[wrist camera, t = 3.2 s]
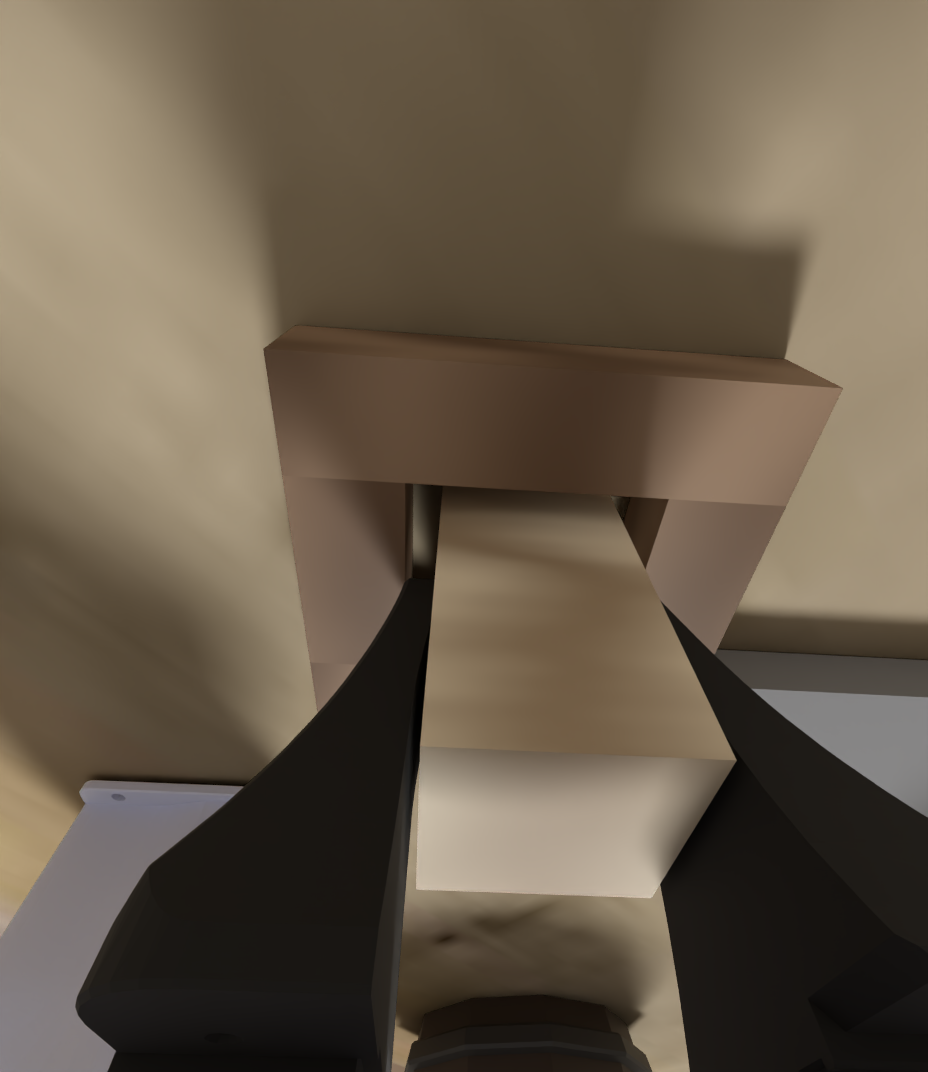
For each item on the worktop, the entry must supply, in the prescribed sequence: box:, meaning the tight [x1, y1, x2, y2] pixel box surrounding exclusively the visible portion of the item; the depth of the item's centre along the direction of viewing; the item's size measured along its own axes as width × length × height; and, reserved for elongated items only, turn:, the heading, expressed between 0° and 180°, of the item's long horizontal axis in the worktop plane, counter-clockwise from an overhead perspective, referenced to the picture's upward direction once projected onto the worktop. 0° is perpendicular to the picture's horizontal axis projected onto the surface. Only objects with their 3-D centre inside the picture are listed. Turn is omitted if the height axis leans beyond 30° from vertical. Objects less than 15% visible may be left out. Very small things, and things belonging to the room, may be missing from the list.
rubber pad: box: [715, 650, 928, 817], centre depth 18 cm, size 10×10×2 cm
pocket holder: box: [264, 325, 843, 712], centre depth 13 cm, size 10×10×2 cm
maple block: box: [416, 485, 737, 898], centre depth 11 cm, size 4×4×8 cm
